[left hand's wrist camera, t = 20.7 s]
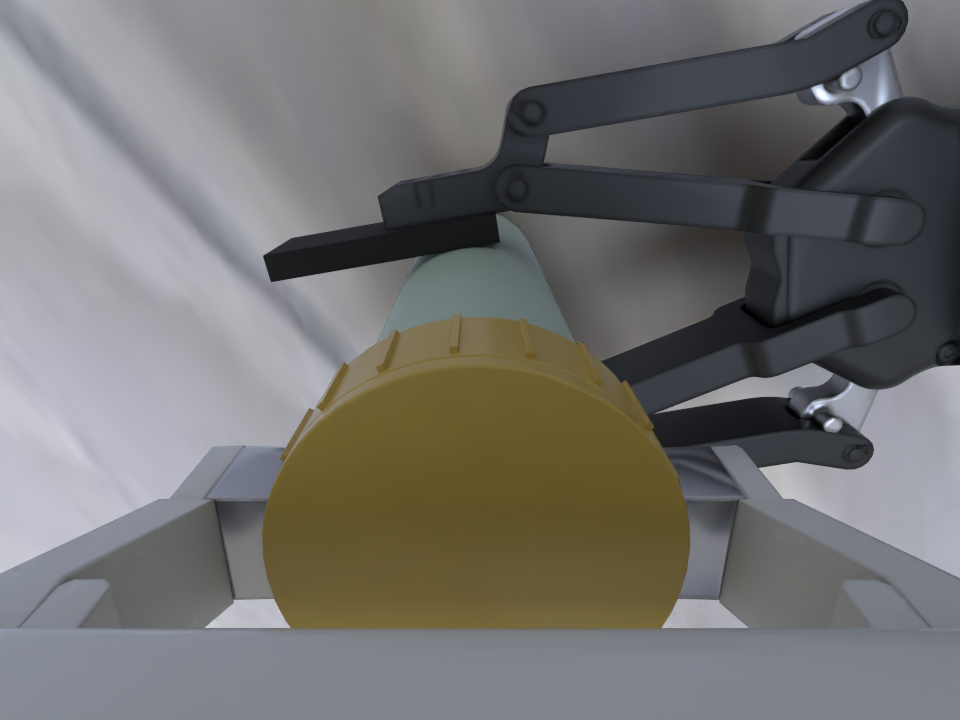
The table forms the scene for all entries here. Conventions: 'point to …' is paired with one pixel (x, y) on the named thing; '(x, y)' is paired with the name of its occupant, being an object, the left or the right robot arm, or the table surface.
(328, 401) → the lid
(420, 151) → the table surface
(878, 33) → the right robot arm
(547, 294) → the jar
